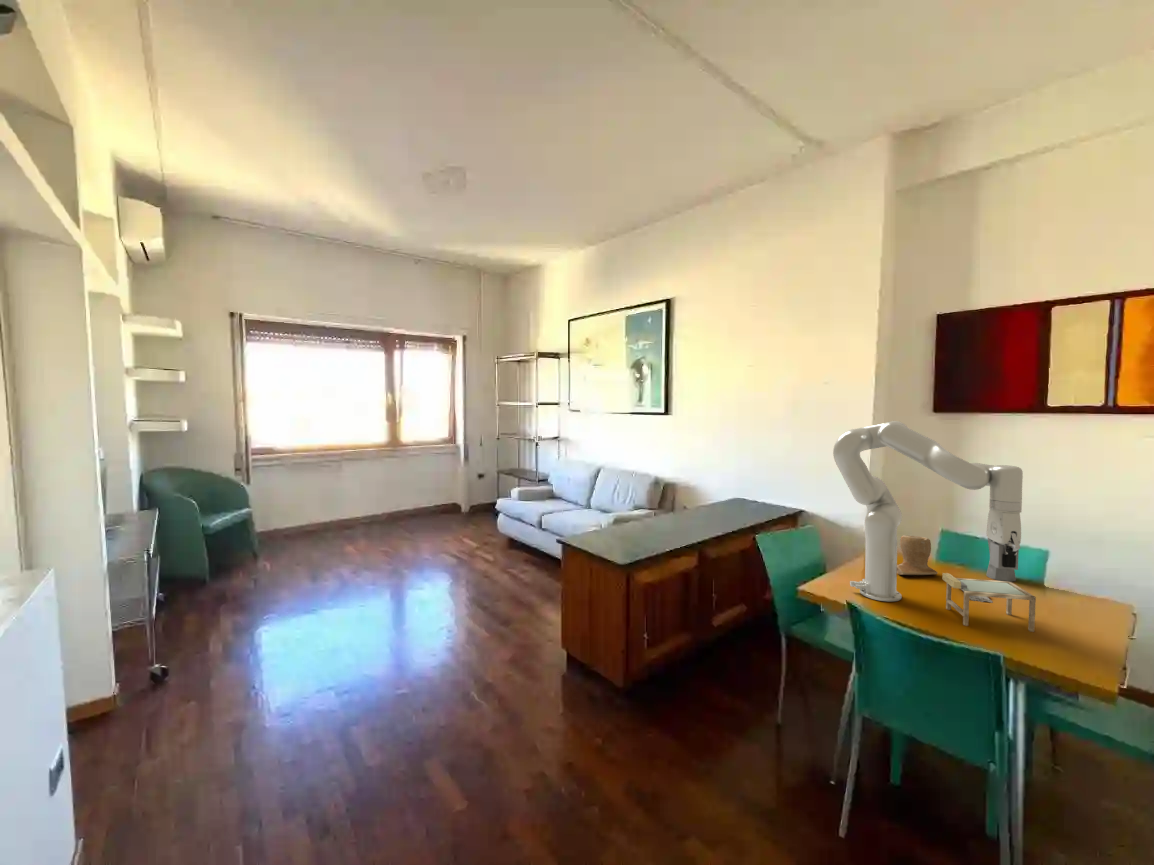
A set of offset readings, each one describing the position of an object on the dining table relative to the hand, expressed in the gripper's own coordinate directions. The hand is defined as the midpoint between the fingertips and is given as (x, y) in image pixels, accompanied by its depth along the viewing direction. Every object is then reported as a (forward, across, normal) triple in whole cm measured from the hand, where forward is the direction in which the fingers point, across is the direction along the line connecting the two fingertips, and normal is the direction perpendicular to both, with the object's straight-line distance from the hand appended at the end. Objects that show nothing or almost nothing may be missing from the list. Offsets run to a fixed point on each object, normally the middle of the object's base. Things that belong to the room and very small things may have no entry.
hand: (1003, 563), depth 154 cm
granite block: (+1, 0, 0) cm, 1 cm away
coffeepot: (+18, -45, +20) cm, 52 cm away
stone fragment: (+19, -28, +2) cm, 34 cm away
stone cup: (+18, -42, -11) cm, 47 cm away
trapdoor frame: (+18, 0, -4) cm, 18 cm away
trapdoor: (+9, 0, -6) cm, 10 cm away
